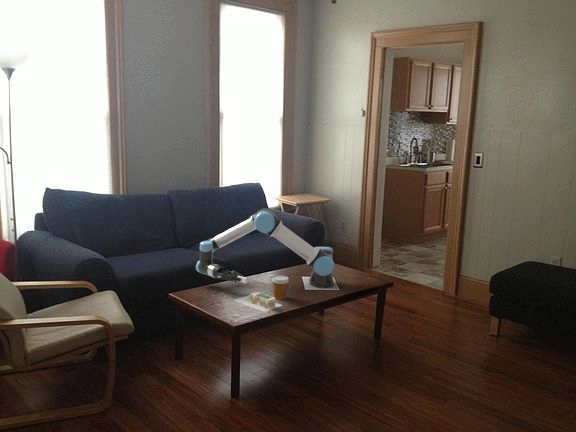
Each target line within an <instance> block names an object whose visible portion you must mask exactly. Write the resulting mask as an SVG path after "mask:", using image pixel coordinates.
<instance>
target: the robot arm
mask: <svg viewBox="0 0 576 432" xmlns="http://www.w3.org/2000/svg"><path fill="white" fill-rule="evenodd" d="M255 230H257V231H258V232H260V233H262V234H265V235H267V236H268V237H274V238H275V239H276V240H277V241H279V242H280V243H282V244H283V245H285V246H286V247H288V248H289V249H290V250H291V251H293V252H294V253H295V254H297V255H298V256H300V257H301V258H302V259H303V260H305V261H306V265H308V266H309V267H310V268H311V269H312V271H311V274H310V277H309V279H308V281H309V282H308V283H309V285H310V286H312V287H316V288H330V287H333V286H334V285H335V281H334V280H335V279H334V276H333V270H334V268H335V267H334V266H335V263H334V260H333V259H334V258H333V254H334V251H333V247H329V246H315V247H313V246H312V245H311V244H310V243H308V242H307V241H305V240H304V239H303V238H301V237H300V236H298V235H297V234H296V233H294V232H293V231H292V230H291V229H289V228H288V227H286V225H284V224H283V222H282V220H281V219H280V217H278V216H276V214H275V212H274V211H273V210H272V209H271V208H269V207H263V208H261V209H259V210H258V211H256V212H255V213H253V214H252V215H250V217H249V218H248V219H246V220H244V221H242V222H240V223H238V224H236V225H234V226H233V227H231V228H228V229H227V230H224V232H221V233H219V234H217V235H216V236H214V237H212V238H209V239H207V240H203V241H201V242H199V260H198V261H197V262H196V264H195V270H196V271H197V272H198V273H200V274H202V275H206V276H209V277H212V278H213V279H218V280H225V281H229V282H235V283H237V282H240V283H242V284H248V278H247V277H245V276H243V275H242V274H241V273H239V272H238V271H236V270H234V269H233V270H232V271H230V270H229V269H227V268H226V267H225V266H223V265H220V264H215V263H213V259H214V258H213V257H214V256H213V255H214V252H216V251H217V250H219V249H221V248H222V247H225V246H226V245H228V244H230V243H233V242H234V241H236V240H238V239H240V238H242V237H243V236H246V235H247V234H250V233H252V232H253V231H255Z"/></svg>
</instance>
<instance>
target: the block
mask: <svg viewBox="0 0 576 432" xmlns="http://www.w3.org/2000/svg"><path fill="white" fill-rule="evenodd" d="M249 295H250V303H252V304H255V305H258V306H261V307H264V308H266V309H271V308H274V307H275V303H276V299H275V298H274V296H270V295H267V294H265V293H262V292H259V291H256V292H255V291H254V292H252V293H249ZM274 309H275V308H274ZM271 310H272V309H271Z"/></svg>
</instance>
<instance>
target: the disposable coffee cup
mask: <svg viewBox="0 0 576 432" xmlns="http://www.w3.org/2000/svg"><path fill="white" fill-rule="evenodd" d="M271 280H272V281H271V282H272V287H273V297H274V298H275V300H279V301H281V300H285V299H286V297H287V291H288V285H289V282H290V280H289V277H288V276H285V275H275V276H272V279H271Z"/></svg>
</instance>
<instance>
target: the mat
mask: <svg viewBox="0 0 576 432" xmlns="http://www.w3.org/2000/svg"><path fill="white" fill-rule="evenodd" d="M233 302H236V303H239V304H241V305H244V306H247V307H249V308H252V309H256V310H258V311H260V312H261V311H262V312H263V313H265V312H268V311H271V310H274V309H277V308H279V307H282V306H283V304H280V303H278V302H275V307H274V308H271V309H266V308H264V307H261V306H258V305H255V304H252V303H250V294H249V295H246V296H242V297H239V298H236V299H233Z"/></svg>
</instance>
